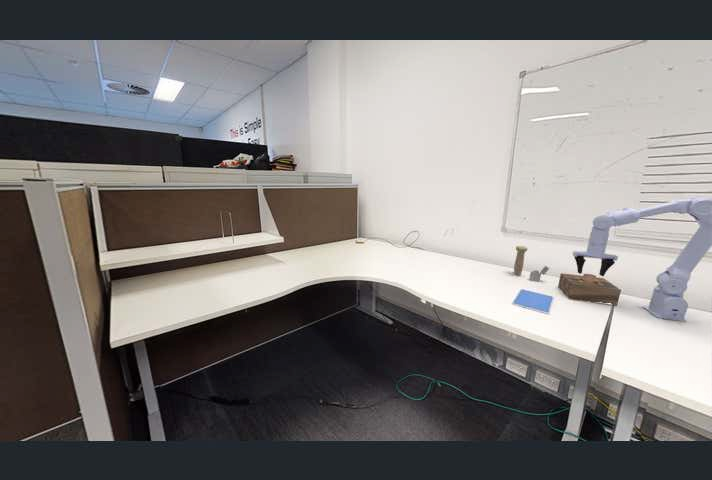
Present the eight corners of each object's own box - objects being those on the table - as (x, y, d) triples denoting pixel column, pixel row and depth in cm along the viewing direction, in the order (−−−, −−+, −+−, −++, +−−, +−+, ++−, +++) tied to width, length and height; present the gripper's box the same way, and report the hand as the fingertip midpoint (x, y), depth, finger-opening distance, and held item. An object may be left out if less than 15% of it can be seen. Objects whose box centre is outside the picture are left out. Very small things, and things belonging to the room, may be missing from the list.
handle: (520, 273, 142) (525, 246, 139) (523, 277, 136) (528, 249, 133) (510, 272, 144) (515, 245, 140) (513, 276, 138) (517, 248, 134)
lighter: (530, 280, 132) (533, 265, 130) (529, 279, 134) (531, 264, 132) (546, 282, 130) (549, 267, 128) (545, 281, 132) (548, 266, 130)
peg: (594, 290, 112) (597, 277, 111) (583, 289, 114) (586, 276, 112) (590, 287, 116) (593, 274, 115) (579, 285, 117) (582, 273, 116)
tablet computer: (548, 316, 98) (549, 313, 98) (510, 305, 106) (511, 302, 106) (553, 299, 112) (554, 296, 112) (520, 291, 120) (520, 288, 120)
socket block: (616, 305, 107) (621, 290, 105) (569, 298, 112) (572, 283, 111) (600, 292, 119) (603, 278, 118) (557, 286, 125) (560, 273, 123)
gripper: (580, 243, 109) (573, 274, 112) (625, 247, 104) (616, 279, 107) (573, 240, 116) (567, 269, 119) (615, 243, 111) (607, 274, 114)
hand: (590, 274), depth 113 cm, fingers open, 7 cm apart
